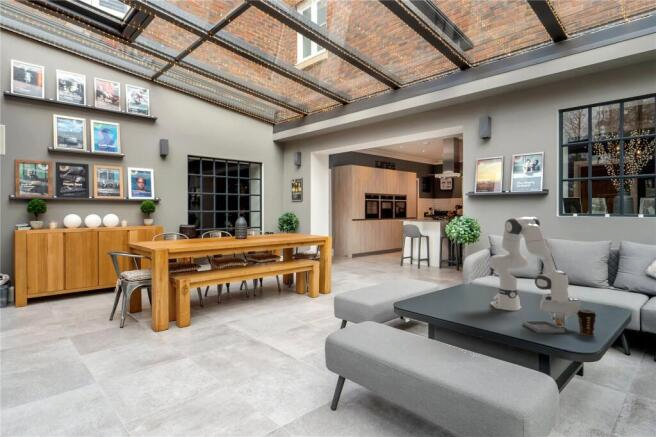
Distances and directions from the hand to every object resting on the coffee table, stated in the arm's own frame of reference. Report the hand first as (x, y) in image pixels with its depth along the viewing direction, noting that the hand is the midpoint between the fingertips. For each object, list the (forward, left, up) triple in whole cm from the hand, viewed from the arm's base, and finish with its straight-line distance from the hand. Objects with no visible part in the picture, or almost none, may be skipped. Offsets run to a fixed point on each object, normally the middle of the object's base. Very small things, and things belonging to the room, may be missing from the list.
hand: (559, 320), depth 211 cm
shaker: (0, 0, -4) cm, 4 cm away
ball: (-1, +1, -1) cm, 2 cm away
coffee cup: (+14, +6, -4) cm, 16 cm away
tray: (+5, -13, -4) cm, 15 cm away
